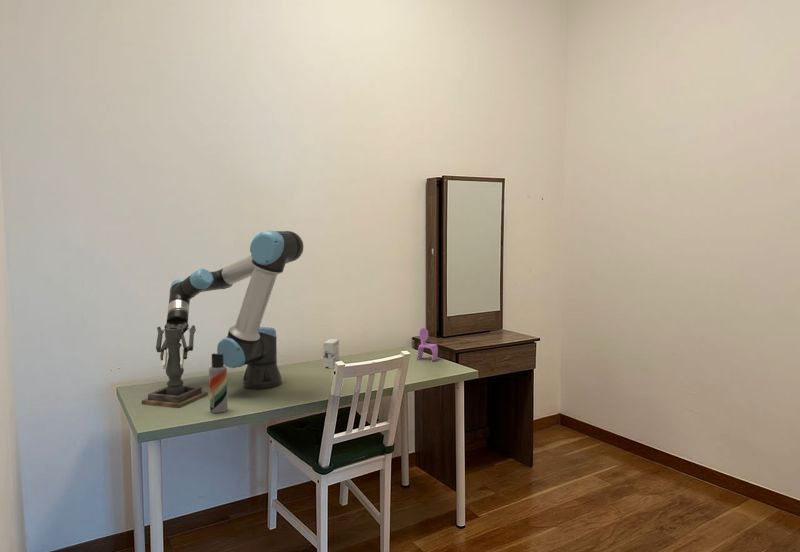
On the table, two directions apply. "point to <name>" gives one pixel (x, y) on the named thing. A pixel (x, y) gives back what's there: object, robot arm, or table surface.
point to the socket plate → (175, 397)
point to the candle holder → (174, 361)
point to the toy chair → (426, 344)
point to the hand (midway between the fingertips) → (172, 366)
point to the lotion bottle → (218, 384)
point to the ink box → (331, 352)
